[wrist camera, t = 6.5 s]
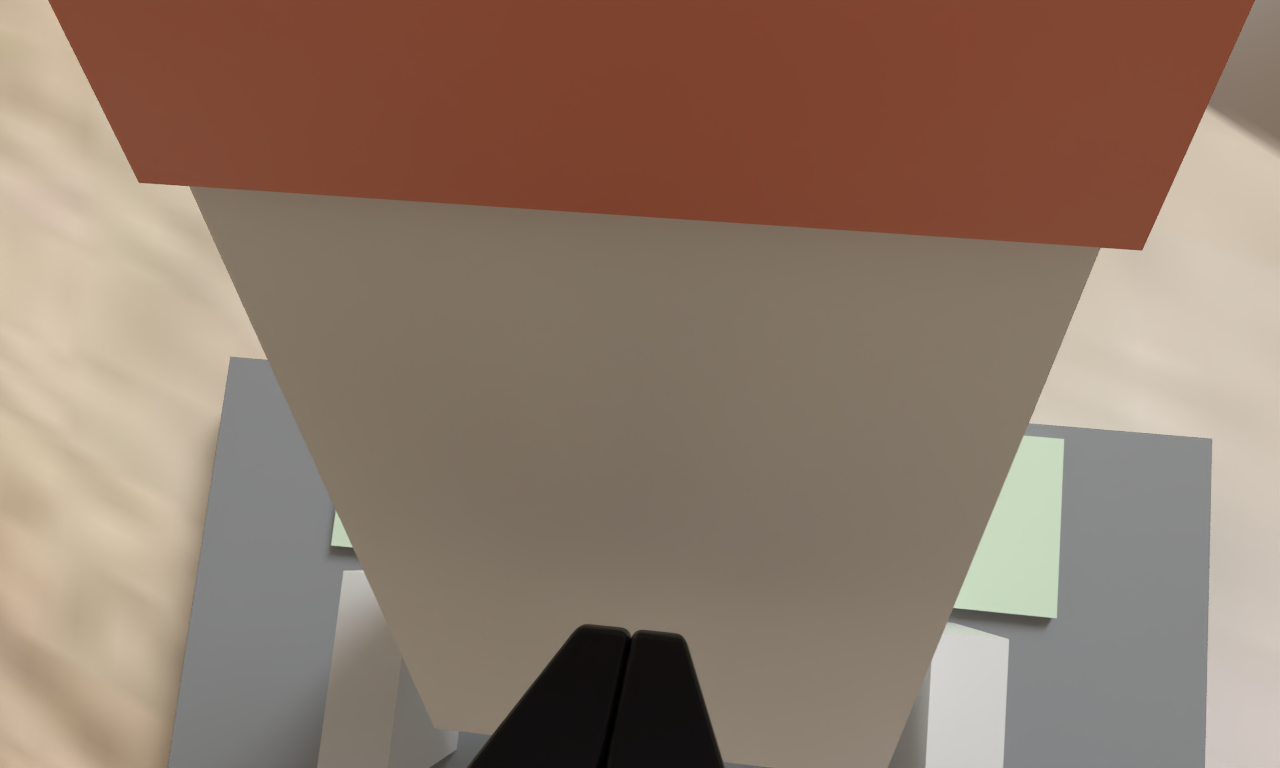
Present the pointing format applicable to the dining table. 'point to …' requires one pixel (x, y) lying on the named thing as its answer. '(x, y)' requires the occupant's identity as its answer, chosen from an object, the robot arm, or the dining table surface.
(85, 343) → the dining table surface
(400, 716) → the switch panel
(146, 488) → the dining table surface
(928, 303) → the switch lever
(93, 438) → the dining table surface
